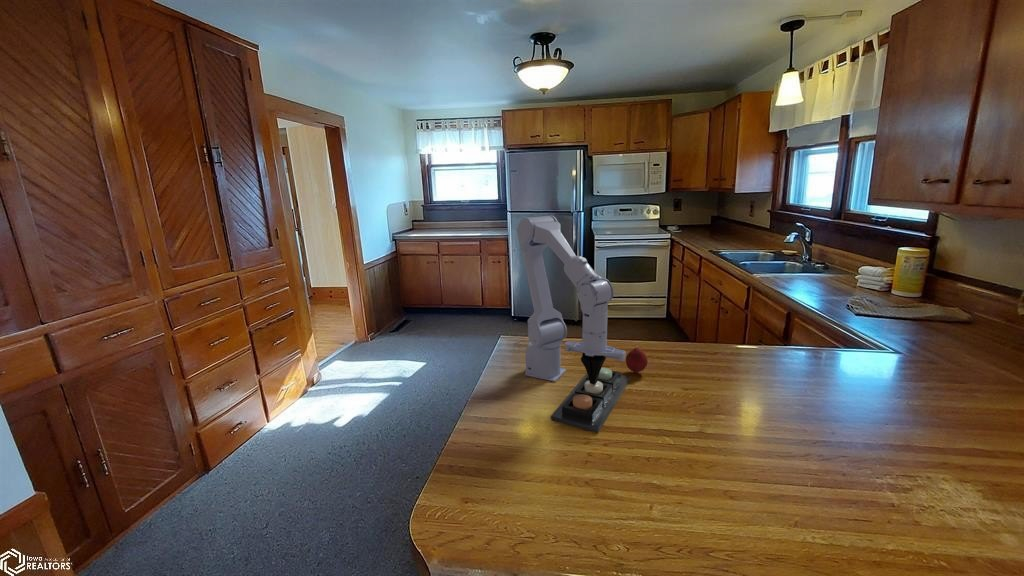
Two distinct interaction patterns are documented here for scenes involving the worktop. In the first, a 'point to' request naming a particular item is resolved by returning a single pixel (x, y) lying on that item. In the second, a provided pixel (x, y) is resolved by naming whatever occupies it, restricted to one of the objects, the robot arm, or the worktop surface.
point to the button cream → (594, 387)
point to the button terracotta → (582, 402)
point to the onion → (636, 360)
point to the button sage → (605, 374)
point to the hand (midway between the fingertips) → (593, 382)
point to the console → (600, 404)
